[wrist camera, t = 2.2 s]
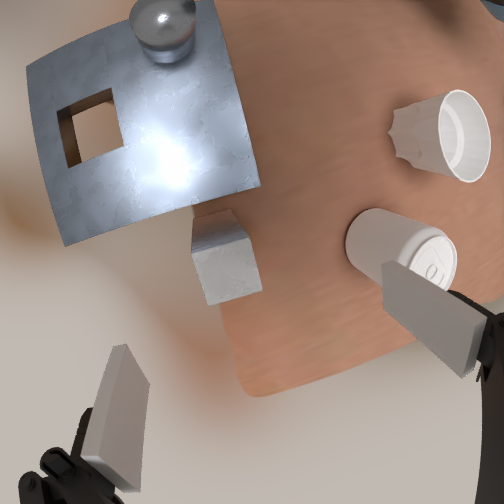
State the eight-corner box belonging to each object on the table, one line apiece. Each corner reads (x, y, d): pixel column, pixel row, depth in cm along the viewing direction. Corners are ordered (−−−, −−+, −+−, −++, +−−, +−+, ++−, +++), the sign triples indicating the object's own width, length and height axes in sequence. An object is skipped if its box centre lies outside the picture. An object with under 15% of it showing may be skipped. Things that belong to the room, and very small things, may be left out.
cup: (392, 84, 29) (446, 71, 20) (442, 121, 32) (495, 121, 23) (373, 153, 32) (429, 156, 22) (426, 184, 34) (480, 196, 25)
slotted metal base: (42, 74, 22) (-4, 52, 12) (210, 15, 24) (218, -35, 14) (78, 236, 28) (38, 268, 19) (253, 182, 30) (278, 193, 21)
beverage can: (369, 193, 33) (438, 213, 22) (404, 232, 36) (468, 261, 24) (330, 246, 34) (387, 287, 23) (370, 280, 37) (426, 324, 26)
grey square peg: (193, 218, 30) (190, 254, 19) (229, 208, 31) (249, 237, 19) (203, 253, 32) (208, 306, 20) (239, 243, 32) (262, 290, 21)
